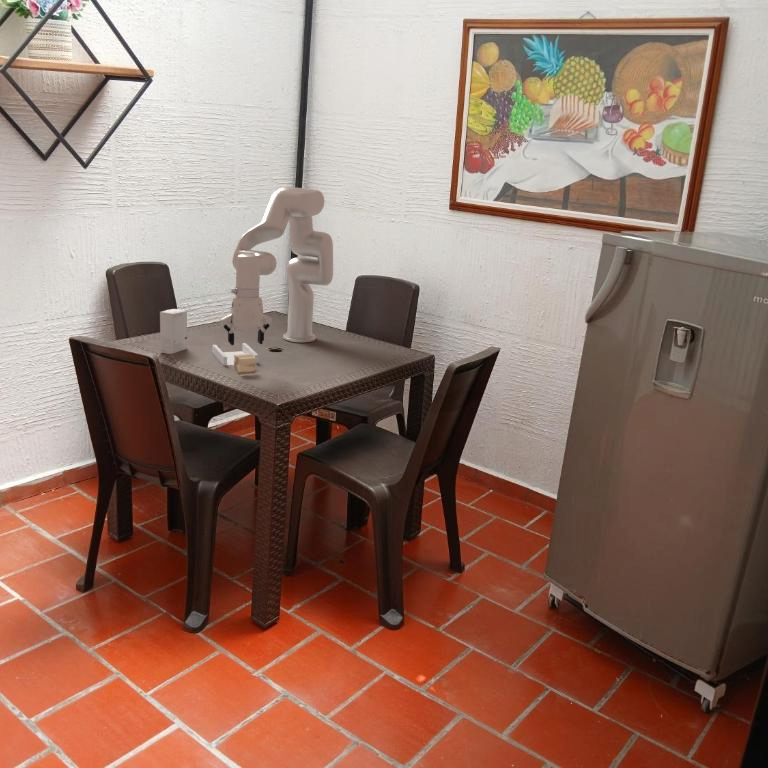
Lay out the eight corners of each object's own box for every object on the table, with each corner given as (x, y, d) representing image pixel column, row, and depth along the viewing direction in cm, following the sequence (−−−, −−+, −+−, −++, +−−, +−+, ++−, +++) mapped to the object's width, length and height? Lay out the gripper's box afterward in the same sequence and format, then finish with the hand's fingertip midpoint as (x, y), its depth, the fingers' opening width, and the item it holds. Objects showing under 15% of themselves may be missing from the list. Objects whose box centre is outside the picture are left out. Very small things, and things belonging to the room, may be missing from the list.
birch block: (233, 370, 271) (234, 354, 269) (249, 368, 273) (250, 353, 272) (239, 375, 266) (239, 359, 265) (255, 373, 269) (255, 357, 267)
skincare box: (173, 355, 281) (173, 314, 276) (159, 352, 283) (158, 311, 278) (188, 350, 288) (188, 309, 283) (174, 347, 290) (173, 307, 286)
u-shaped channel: (212, 355, 285) (212, 344, 284) (245, 353, 290) (245, 343, 289) (223, 367, 272) (223, 356, 271) (257, 365, 277) (258, 354, 276)
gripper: (224, 295, 254) (223, 347, 259) (276, 294, 262) (274, 345, 267) (218, 290, 260) (217, 341, 266) (269, 290, 268) (267, 339, 273)
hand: (245, 343), depth 266 cm, fingers open, 9 cm apart
